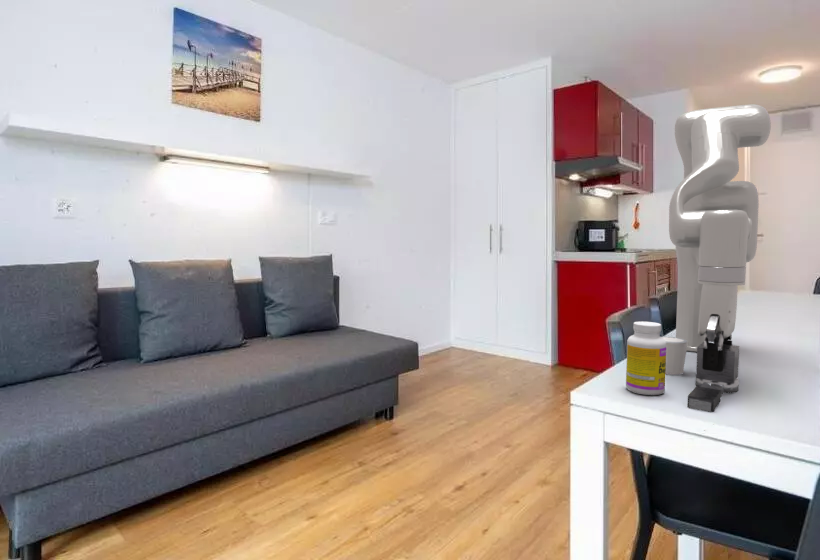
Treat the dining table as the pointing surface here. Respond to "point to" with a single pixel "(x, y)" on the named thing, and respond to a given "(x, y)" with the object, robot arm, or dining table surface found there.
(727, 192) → the robot arm
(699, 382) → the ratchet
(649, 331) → the supplement bottle
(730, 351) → the grey cube
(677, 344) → the white cup
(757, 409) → the dining table surface
